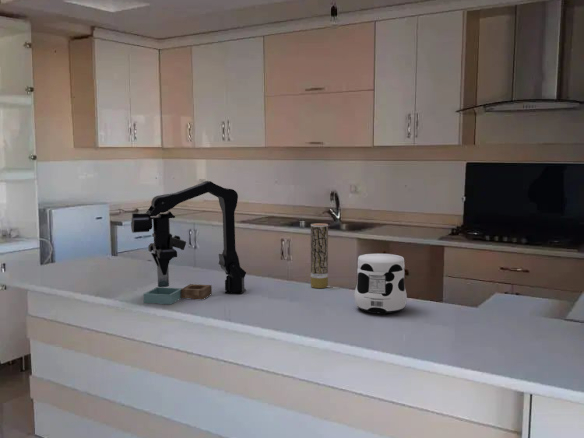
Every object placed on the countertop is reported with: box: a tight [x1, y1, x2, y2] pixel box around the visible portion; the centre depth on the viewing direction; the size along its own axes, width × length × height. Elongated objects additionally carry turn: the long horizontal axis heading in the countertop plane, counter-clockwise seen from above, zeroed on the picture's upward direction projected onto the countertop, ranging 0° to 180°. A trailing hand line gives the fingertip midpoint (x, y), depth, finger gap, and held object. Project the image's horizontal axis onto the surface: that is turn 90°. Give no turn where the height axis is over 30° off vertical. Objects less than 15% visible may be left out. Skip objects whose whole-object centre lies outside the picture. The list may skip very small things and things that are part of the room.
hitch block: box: [181, 283, 213, 300], centre depth 210 cm, size 9×9×4 cm
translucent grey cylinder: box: [156, 265, 170, 288], centre depth 205 cm, size 4×4×8 cm
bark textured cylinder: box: [310, 222, 329, 289], centre depth 224 cm, size 7×7×25 cm
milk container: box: [354, 253, 408, 314], centre depth 190 cm, size 17×17×18 cm
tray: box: [143, 286, 182, 305], centre depth 205 cm, size 10×10×3 cm
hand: (163, 273), depth 204 cm, fingers closed on translucent grey cylinder, 4 cm apart
